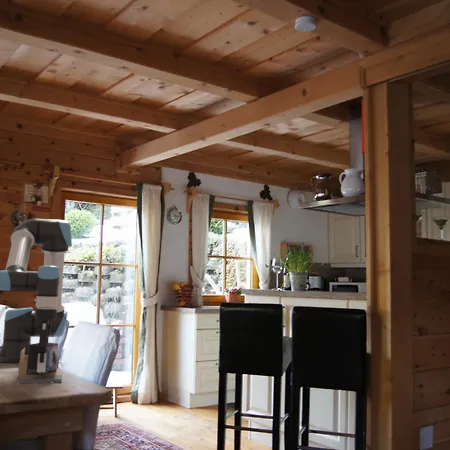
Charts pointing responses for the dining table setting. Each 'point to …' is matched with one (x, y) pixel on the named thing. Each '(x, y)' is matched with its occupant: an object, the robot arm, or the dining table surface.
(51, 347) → the small box
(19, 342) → the robot arm
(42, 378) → the board
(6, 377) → the dining table surface
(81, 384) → the dining table surface
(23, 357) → the carton
